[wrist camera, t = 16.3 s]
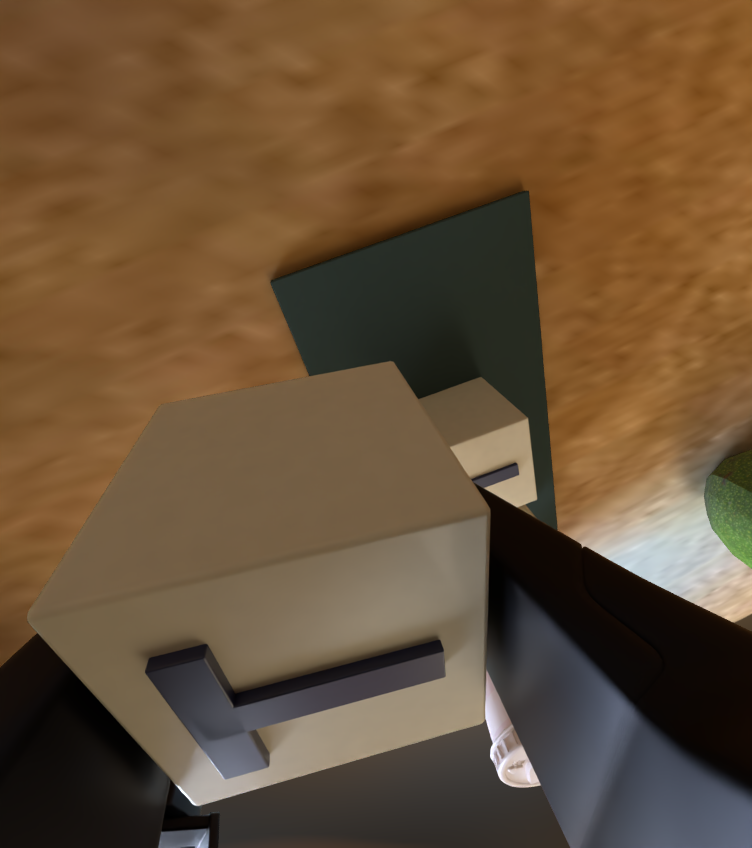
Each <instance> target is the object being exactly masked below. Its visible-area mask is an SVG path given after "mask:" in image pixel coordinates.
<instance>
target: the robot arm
mask: <svg viewBox="0 0 752 848" xmlns="http://www.w3.org/2000/svg"><path fill="white" fill-rule="evenodd" d="M473 483H474V482H473ZM474 485H475V486H476V488H477V489H478V491H479V492H480V494H481V495H482V497H483V498H484V500H485V501H486V503H487V504H488V506H489V508H490V552H489V590H488V627H487V665H486V670H487V672H488V674H489V676H490V678H491V680H492V682H493V684H494V687H495V689H496V691H497V693H498V695H499V697H500V699H501V701H502V704H503V706H504V708H505V710H506V712H507V714H508V716H509V718H510V721H511V723H512V725H513V727H514V729H515V731H516V733H517V735H518V738H519V740H520V742H521V744H522V746H523V748H524V750H525V752H526V755H527V757H528V759H529V761H530V763H531V765H532V767H533V769H534V771H535V774H536V776H537V778H538V780H539V782H540V784H541V786H542V788H543V791H544V793H545V795H546V797H547V799H548V801H549V803H550V805H551V808H552V810H553V812H554V814H555V816H556V818H557V820H558V822H559V824H560V826H561V829H562V831H563V833H564V835H565V837H566V839H567V841H568V844H569V846H570V848H752V631H749V630H747V629H745V628H743V627H741V626H739V625H737V624H735V623H733V622H731V621H729V620H727V619H725V618H722V617H720V616H718V615H716V614H714V613H712V612H710V611H708V610H706V609H704V608H702V607H700V606H697V605H695V604H693V603H691V602H689V601H687V600H685V599H683V598H681V597H679V596H677V595H675V594H673V593H671V592H669V591H667V590H665V589H663V588H661V587H659V586H657V585H655V584H653V583H651V582H649V581H647V580H645V579H643V578H641V577H639V576H638V575H636V574H634V573H632V572H630V571H628V570H627V569H625V568H623V567H621V566H619V565H617V564H616V563H614V562H612V561H610V560H608V559H607V558H605V557H603V556H601V555H600V554H598V553H596V552H594V551H593V550H591V549H589V548H587V547H583V548H582V545H581V544H580V543H578V542H577V541H575V540H573V539H571V538H570V537H568V536H566V535H564V534H563V533H561V532H559V531H558V530H556V529H554V528H552V527H551V526H549V525H547V524H545V523H544V522H542V521H540V520H538V519H537V518H535V517H533V516H531V515H530V514H528V513H526V512H524V511H523V510H521V509H519V508H518V507H516V506H514V505H512V504H511V503H509V502H507V501H505V500H504V499H502V498H500V497H498V496H497V495H495V494H493V493H491V492H490V491H488V490H486V489H484V488H483V487H481V486H479V485H478V484H476V483H474ZM201 809H202V805H200V806H196V805H193V804H192V803H191V801H190V800H189V799H188V798H187V797H186V796H185V795H184V794H183V793H182V791H181V790H180V789H179V788H178V787H177V786H176V785H175V784H174V783H173V782H172V780H171V779H170V778H169V777H168V776H167V775H166V774H165V773H164V772H163V771H162V769H161V768H160V767H159V766H158V765H157V764H156V763H155V762H154V761H153V760H152V758H151V757H150V756H149V755H148V754H147V753H146V752H145V751H144V750H143V749H142V747H141V746H140V745H139V744H138V743H137V742H136V741H135V740H134V739H133V738H132V736H131V735H130V734H129V733H128V732H127V731H126V730H125V729H124V728H123V726H122V725H121V724H120V723H119V722H118V721H117V720H116V719H115V718H114V717H113V715H112V714H111V713H110V712H109V711H108V710H107V709H106V708H105V707H104V706H103V704H102V703H101V702H100V701H99V700H98V699H97V698H96V697H95V696H94V695H93V693H92V692H91V691H90V690H89V689H88V688H87V687H86V686H85V685H84V684H83V682H82V681H81V680H80V679H79V678H78V677H77V676H76V675H75V674H74V673H73V671H72V670H71V669H70V668H69V667H68V666H67V665H66V664H65V663H64V662H63V660H62V659H61V658H60V657H59V656H58V655H57V654H56V653H55V652H54V650H53V649H52V648H51V647H50V646H49V645H48V644H47V643H46V642H45V641H44V639H43V638H42V637H41V636H40V635H39V634H38V633H37V634H36V635H35V636H34V637H32V638H31V639H30V640H29V641H28V642H27V643H26V644H25V645H24V646H23V647H22V648H21V649H20V650H18V651H17V652H16V653H15V654H14V655H13V656H12V657H11V658H10V659H9V660H8V661H7V662H5V663H4V664H3V665H2V666H1V667H0V848H218V839H219V815H220V813H219V812H210V814H209V815H201Z"/></svg>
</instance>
